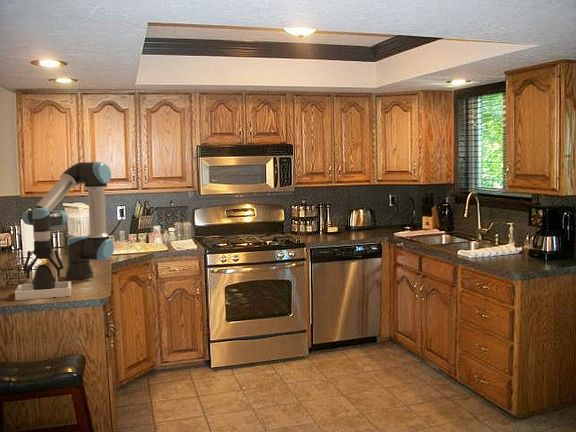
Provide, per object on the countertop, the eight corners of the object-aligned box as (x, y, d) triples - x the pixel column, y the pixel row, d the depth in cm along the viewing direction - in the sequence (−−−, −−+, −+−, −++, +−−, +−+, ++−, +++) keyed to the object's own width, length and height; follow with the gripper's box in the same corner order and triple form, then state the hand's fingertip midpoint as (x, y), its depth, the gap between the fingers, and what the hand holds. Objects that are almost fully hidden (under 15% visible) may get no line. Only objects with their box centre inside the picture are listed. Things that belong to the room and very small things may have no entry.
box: (71, 289, 304) (71, 281, 303) (70, 296, 286) (70, 288, 286) (19, 292, 296) (18, 284, 295) (15, 300, 278) (14, 292, 278)
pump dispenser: (51, 291, 298) (49, 261, 297) (58, 294, 291) (57, 264, 289) (30, 294, 292) (28, 264, 290) (37, 298, 284) (35, 266, 282)
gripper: (67, 237, 296) (69, 281, 298) (16, 240, 288) (18, 284, 290) (67, 239, 289) (69, 284, 291) (15, 242, 281) (17, 287, 283)
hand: (44, 284), depth 291 cm, fingers open, 11 cm apart
